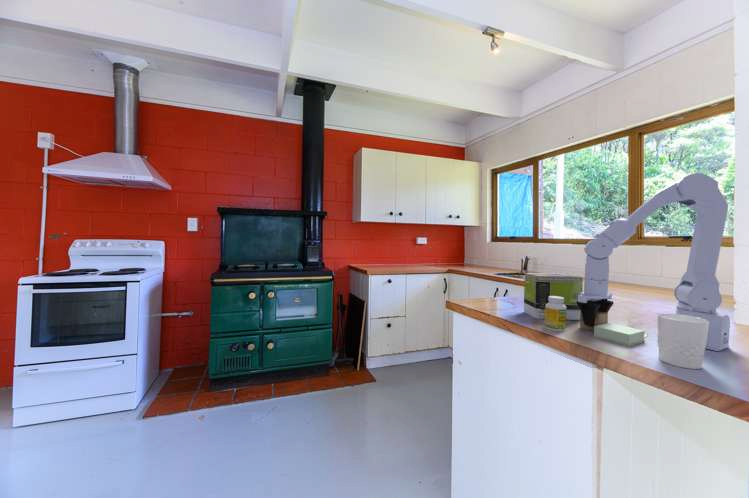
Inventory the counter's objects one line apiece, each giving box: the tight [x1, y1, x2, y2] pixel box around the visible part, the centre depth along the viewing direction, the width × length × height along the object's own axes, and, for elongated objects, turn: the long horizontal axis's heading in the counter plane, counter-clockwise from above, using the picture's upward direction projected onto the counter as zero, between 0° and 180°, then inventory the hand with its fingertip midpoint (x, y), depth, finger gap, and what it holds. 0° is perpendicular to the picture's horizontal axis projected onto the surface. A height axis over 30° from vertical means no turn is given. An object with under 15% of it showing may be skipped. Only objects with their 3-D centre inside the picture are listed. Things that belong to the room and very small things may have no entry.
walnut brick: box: [579, 311, 609, 332], centre depth 91 cm, size 5×5×5 cm
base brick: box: [592, 322, 646, 347], centre depth 82 cm, size 8×8×3 cm
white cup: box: [657, 312, 709, 370], centre depth 66 cm, size 8×8×10 cm
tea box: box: [523, 272, 583, 321], centre depth 105 cm, size 15×10×15 cm
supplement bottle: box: [544, 296, 567, 332], centre depth 90 cm, size 5×5×10 cm
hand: (593, 324), depth 91 cm, fingers closed on walnut brick, 5 cm apart
